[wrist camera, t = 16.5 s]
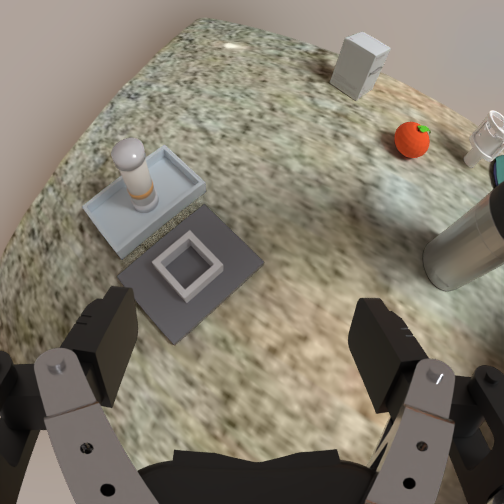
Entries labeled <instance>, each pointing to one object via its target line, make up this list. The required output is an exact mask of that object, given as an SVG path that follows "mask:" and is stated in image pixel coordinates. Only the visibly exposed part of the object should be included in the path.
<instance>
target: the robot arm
mask: <svg viewBox="0 0 504 504" xmlns="http://www.w3.org/2000/svg"><path fill="white" fill-rule="evenodd" d="M423 263H424V268H425V271H426V274H427V275H428V277H429V279H430V280H431V282H432V283H433V284H434V285H435V286H436V287H438V288H440V289H441V290H444V291H452V290H455V289H457V288H459V287H461V286H463V285H465V284H467V283H469V282H471V281H473V280H475V279H477V278H479V277H481V276H483V275H485V274H487V273H489V272H490V271H492V270H494V269H496V268H498V267H500V266H501V265H503V264H504V181H503V182H501V183H500V184H499V185H498V186H497V187H496V188H494V189H493V190H492V191H491V192H490V193H489V194H488V195H487V196H485V197H484V198H483V199H482V200H481V201H480V202H479V203H477V204H476V205H475V206H474V207H473V208H471V209H470V210H469V211H468V212H467V213H465V214H464V215H463V216H462V217H461V218H459V219H458V220H457V221H456V222H454V223H453V224H452V225H451V226H449V227H448V228H447V229H446V230H444V231H443V232H442V233H440V234H439V235H438V236H437V237H435V238H434V239H433V240H432V241H430V242H429V243H428V244H427V246H426V247H425V250H424V254H423ZM137 336H138V322H137V314H136V307H135V299H134V292H133V289H132V288H130V287H117V286H111V287H110V288H109V290H108V292H107V293H106V295H105V296H104V298H103V299H96V300H94V301H93V302H92V303H90V304H89V305H87V306H86V308H85V309H84V311H83V312H82V314H81V317H79V318H78V320H77V321H76V324H74V326H73V328H72V329H71V331H70V332H69V334H68V335H67V337H66V338H65V340H64V342H63V343H62V345H61V346H60V348H54V349H50V350H47V351H45V352H44V353H42V354H41V355H40V356H39V357H38V358H37V359H36V361H35V364H17V365H14V364H13V362H12V359H11V357H10V356H9V354H8V353H6V352H4V351H0V416H1V418H0V504H16V502H17V499H18V495H19V491H20V488H21V485H22V482H23V479H24V475H25V472H26V469H27V466H28V463H29V460H30V457H31V454H32V451H33V449H34V446H35V443H36V440H37V438H38V435H39V432H40V430H47V431H48V435H49V438H50V440H51V444H52V447H53V449H54V452H55V455H56V458H57V460H58V463H59V466H60V468H61V471H62V473H63V475H64V478H65V480H66V482H67V485H68V487H69V490H70V492H71V494H72V496H73V498H74V501H75V503H76V504H435V502H436V498H437V495H438V492H439V489H440V485H441V482H442V478H443V475H444V471H445V467H446V463H447V459H448V455H449V456H450V458H451V461H452V463H453V466H454V468H455V471H456V473H457V476H458V478H459V481H460V483H461V486H462V489H463V491H464V494H465V497H466V500H467V502H468V504H504V375H503V373H501V372H500V371H499V370H498V369H496V368H494V367H491V366H487V365H483V366H479V367H478V368H477V369H476V370H475V372H474V374H473V376H472V377H464V376H455V374H454V372H453V370H452V369H451V368H450V367H449V366H448V365H447V364H445V363H444V362H442V361H439V360H436V359H429V358H428V356H427V355H426V353H425V352H424V350H423V349H422V347H421V346H420V344H419V343H418V341H417V340H416V338H415V337H414V336H413V334H412V332H411V331H410V330H409V329H408V327H407V325H406V324H405V322H404V321H403V320H402V318H400V317H399V316H398V315H396V314H395V313H394V312H392V311H389V310H388V309H387V307H386V306H385V304H384V303H383V301H382V300H381V299H380V298H360V299H359V300H358V302H357V305H356V309H355V313H354V316H353V320H352V323H351V327H350V331H349V335H348V345H349V349H350V351H351V354H352V356H353V358H354V361H355V363H356V365H357V368H358V370H359V373H360V375H361V377H362V380H363V382H364V385H365V387H366V389H367V392H368V394H369V397H370V399H371V402H372V404H373V407H374V409H375V412H376V414H378V413H385V412H389V413H390V418H389V420H388V421H387V424H386V426H385V428H384V430H383V433H382V435H381V437H380V439H379V442H378V444H377V446H376V448H375V450H374V452H373V454H372V456H371V458H370V460H369V462H368V464H367V466H363V465H361V464H358V463H354V462H351V461H345V460H340V459H339V455H338V451H337V449H334V450H324V451H313V452H299V453H295V454H292V455H288V456H284V457H280V458H276V459H272V460H268V461H264V462H251V461H247V460H242V459H238V458H233V457H229V456H225V455H221V454H217V453H207V452H193V451H181V450H174V455H173V460H172V461H165V462H160V463H156V464H153V465H149V466H147V467H145V468H142V469H140V470H138V471H137V470H136V469H135V467H134V465H133V464H132V462H131V460H130V459H129V457H128V455H127V454H126V452H125V450H124V449H123V447H122V445H121V443H120V442H119V440H118V438H117V436H116V434H115V433H114V431H113V429H112V427H111V425H110V423H109V421H108V419H107V418H106V416H105V414H104V412H103V410H102V408H101V406H104V407H110V408H112V407H113V404H114V401H115V398H116V396H117V393H118V390H119V387H120V384H121V381H122V379H123V376H124V373H125V370H126V367H127V365H128V362H129V359H130V357H131V354H132V351H133V349H134V346H135V343H136V341H137ZM485 420H486V422H487V424H488V426H489V427H490V429H491V431H492V433H493V435H494V439H495V442H494V446H493V449H492V450H491V451H490V449H489V447H488V445H487V443H486V441H485V439H484V437H483V435H482V433H481V431H480V429H479V427H480V426H481V425H482V423H483V422H484V421H485Z"/></svg>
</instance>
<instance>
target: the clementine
mask: <svg viewBox="0 0 504 504" xmlns="http://www.w3.org/2000/svg"><path fill="white" fill-rule="evenodd" d="M427 131H430V130H429V128H427V127H426V126H421V125H420V124H418V123H415V122H406V123H403V124H401V125H400V126H399V127H398V128H397V130H396V133H395V144H396V147H397V149H398V150H399V152H400V153H402V154H403V155H404V156H406V157H409V158H418V157H420V156H422V155H423V154H425V153H426V151H427V150H428V147H429V142H430V141H429V135H428V133H427ZM430 133H431V131H430V132H429V134H430Z"/></svg>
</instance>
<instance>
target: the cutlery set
mask: <svg viewBox="0 0 504 504" xmlns="http://www.w3.org/2000/svg"><path fill="white" fill-rule="evenodd" d="M495 161H496V162H495V164H494V169H493V175H494V179H495V184H496V187H497V186H498V185H499V184H500V183H501V182H503V181H504V155H501V156H498V157H496V158H495Z"/></svg>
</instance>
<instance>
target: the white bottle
mask: <svg viewBox="0 0 504 504" xmlns="http://www.w3.org/2000/svg"><path fill="white" fill-rule="evenodd" d="M111 156H112V159H113V161H114V163H115V166H116V167H117V168H118V169H119V171H120V173H121V176H122V178H123V180H124V183H125V185H126V187H127V191H128V193H129V195H130V196H131V202H132V204H133V206H134V208H135V210H136V211H138V212H140V213H148V212H151V211H152V210H154V209H155V208H156V206H157V205H158V202H159V197H158V194H157V191H156V189H155V188H154V185H153V181H152V179H151V176H150V173H149V170H148V166H147V163H146V160H145V157H146V154H145V150H144V147H143V144H142V142H141V141H140V140H139V139H137V138H126V139H123V140H121V141H119V142H118V143H117V144H116V145H115V146H114V147H113V149H112V152H111Z"/></svg>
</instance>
